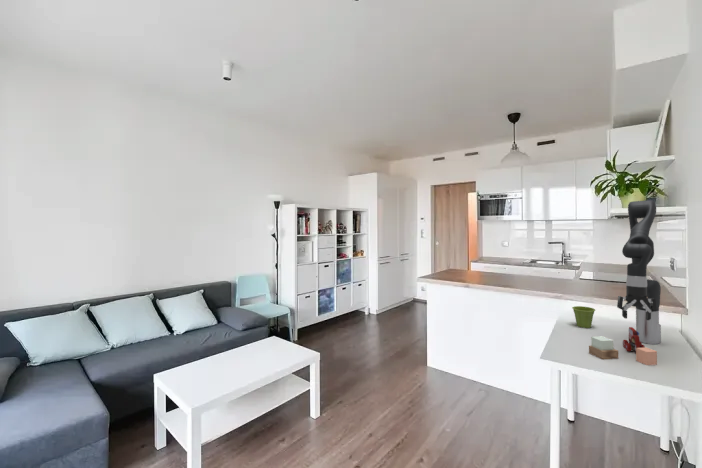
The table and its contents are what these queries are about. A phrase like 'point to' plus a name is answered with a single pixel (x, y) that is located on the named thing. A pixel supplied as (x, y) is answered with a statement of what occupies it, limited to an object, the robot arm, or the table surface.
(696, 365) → the table surface
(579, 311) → the plant pot
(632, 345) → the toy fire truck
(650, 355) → the terracotta block
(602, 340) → the greygreen middle
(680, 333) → the table surface
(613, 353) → the walnut base
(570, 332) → the table surface
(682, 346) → the table surface
